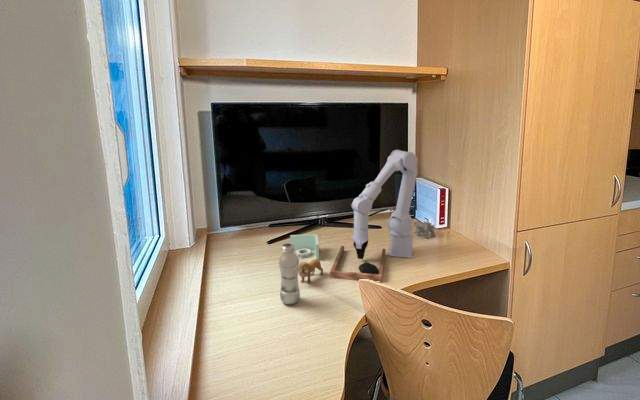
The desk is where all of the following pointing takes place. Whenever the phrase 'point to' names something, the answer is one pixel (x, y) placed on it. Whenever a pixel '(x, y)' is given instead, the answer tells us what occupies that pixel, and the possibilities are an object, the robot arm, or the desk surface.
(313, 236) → the l-shaped corner panel
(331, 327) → the desk surface
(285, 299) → the plastic bottle
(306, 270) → the lion figurine
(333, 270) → the u-shaped frame
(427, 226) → the gray elephant figurine
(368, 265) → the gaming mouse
